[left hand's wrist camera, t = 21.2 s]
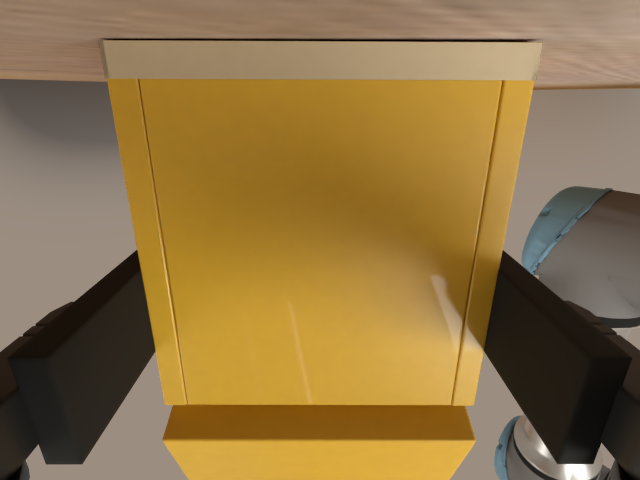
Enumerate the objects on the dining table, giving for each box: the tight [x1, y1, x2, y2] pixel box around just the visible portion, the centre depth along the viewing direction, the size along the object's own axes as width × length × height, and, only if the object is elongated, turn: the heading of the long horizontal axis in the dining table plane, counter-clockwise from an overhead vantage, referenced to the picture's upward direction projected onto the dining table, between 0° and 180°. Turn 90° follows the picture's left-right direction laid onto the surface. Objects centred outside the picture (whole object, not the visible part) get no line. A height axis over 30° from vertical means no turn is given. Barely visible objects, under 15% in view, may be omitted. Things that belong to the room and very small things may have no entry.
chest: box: [99, 40, 543, 406], centre depth 18 cm, size 17×10×10 cm, turn 0°
